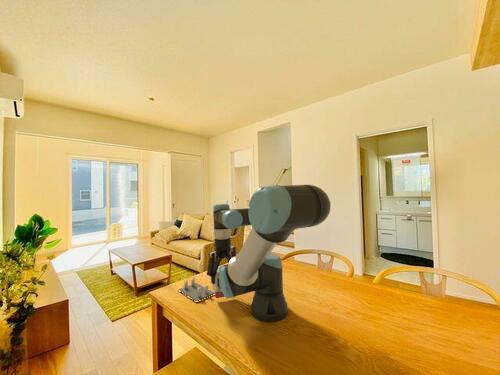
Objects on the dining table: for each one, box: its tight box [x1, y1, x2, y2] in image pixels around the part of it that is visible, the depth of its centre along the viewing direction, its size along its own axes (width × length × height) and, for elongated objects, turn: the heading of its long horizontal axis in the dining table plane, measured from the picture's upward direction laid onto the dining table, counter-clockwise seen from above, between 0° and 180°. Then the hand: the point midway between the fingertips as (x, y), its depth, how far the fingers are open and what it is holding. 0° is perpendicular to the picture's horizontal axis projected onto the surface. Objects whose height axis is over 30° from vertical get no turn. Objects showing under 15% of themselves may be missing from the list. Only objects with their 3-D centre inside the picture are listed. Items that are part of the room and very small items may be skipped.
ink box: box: [213, 267, 226, 299], centre depth 98 cm, size 9×5×12 cm, turn 106°
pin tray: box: [178, 277, 214, 301], centre depth 106 cm, size 17×10×5 cm, turn 45°
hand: (224, 286), depth 98 cm, fingers closed on ink box, 9 cm apart
